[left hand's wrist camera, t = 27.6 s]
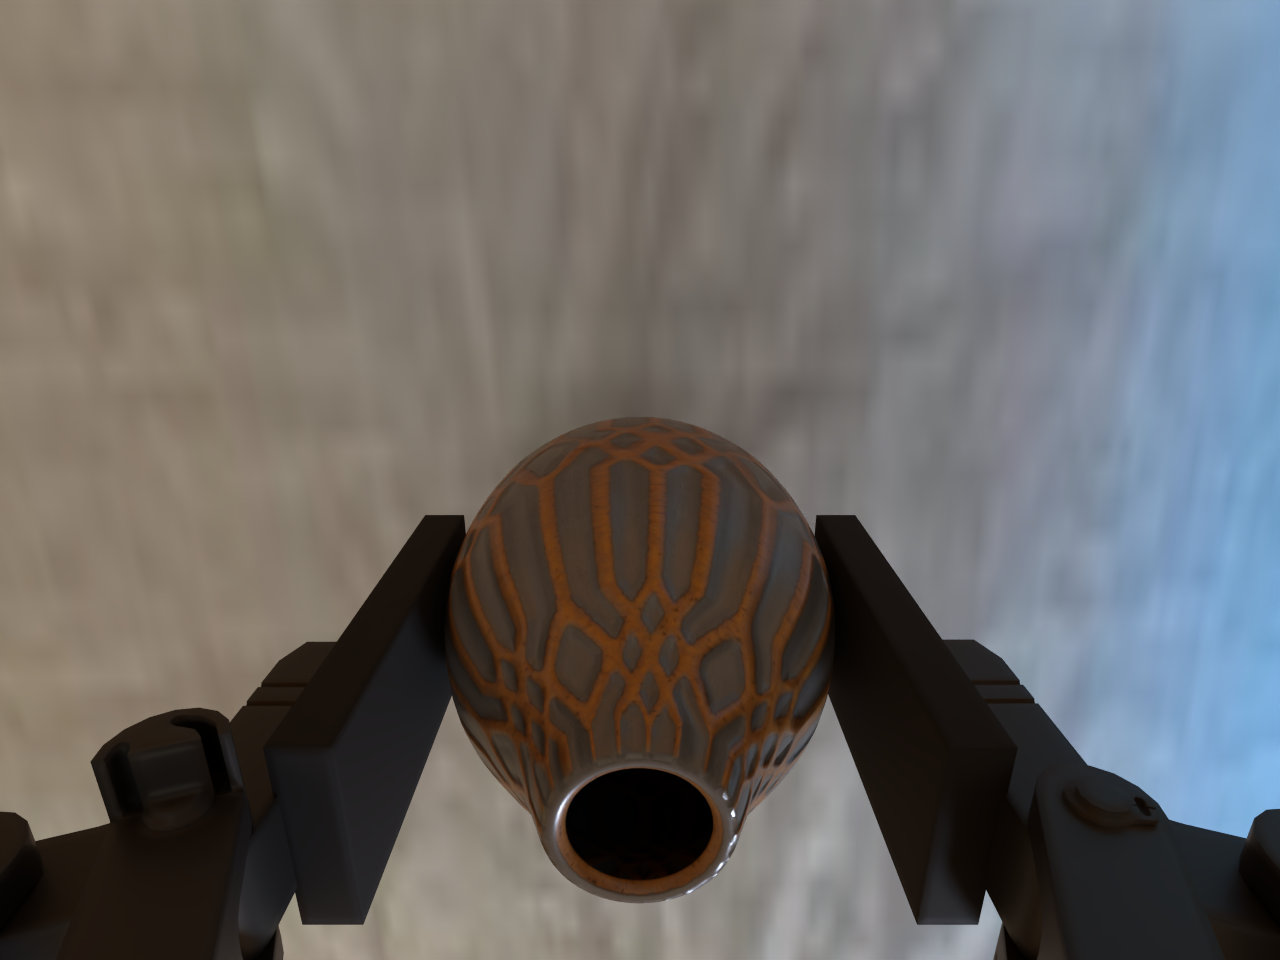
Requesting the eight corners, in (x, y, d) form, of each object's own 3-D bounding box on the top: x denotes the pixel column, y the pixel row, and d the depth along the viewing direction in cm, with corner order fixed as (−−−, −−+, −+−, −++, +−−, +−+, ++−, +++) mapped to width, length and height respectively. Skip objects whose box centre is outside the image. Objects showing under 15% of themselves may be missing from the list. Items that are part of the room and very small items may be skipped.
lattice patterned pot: (479, 382, 16) (301, 575, 7) (800, 382, 16) (976, 575, 7) (500, 656, 18) (384, 1028, 10) (778, 656, 18) (894, 1030, 10)
